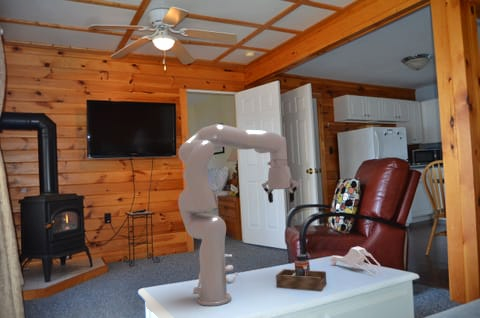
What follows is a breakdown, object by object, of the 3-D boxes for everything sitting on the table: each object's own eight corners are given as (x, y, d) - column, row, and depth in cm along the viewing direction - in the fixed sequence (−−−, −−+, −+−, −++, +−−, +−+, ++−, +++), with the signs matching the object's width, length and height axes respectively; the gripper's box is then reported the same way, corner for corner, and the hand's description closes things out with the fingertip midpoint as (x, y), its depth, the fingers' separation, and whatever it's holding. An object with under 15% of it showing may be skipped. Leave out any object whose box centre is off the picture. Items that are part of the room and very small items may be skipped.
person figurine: (213, 266, 146) (230, 249, 162) (186, 271, 151) (206, 255, 167) (223, 297, 146) (240, 277, 163) (197, 301, 151) (216, 281, 168)
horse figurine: (373, 292, 164) (333, 262, 184) (382, 260, 159) (340, 232, 179) (365, 294, 161) (326, 263, 181) (374, 262, 157) (333, 234, 177)
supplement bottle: (310, 285, 146) (309, 256, 146) (295, 285, 147) (293, 256, 147) (310, 281, 152) (308, 253, 152) (295, 281, 153) (294, 253, 153)
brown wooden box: (276, 287, 149) (275, 275, 149) (284, 281, 158) (283, 269, 158) (321, 291, 141) (320, 277, 141) (326, 283, 150) (325, 271, 150)
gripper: (258, 165, 166) (260, 203, 165) (295, 162, 159) (297, 202, 158) (264, 165, 173) (266, 202, 172) (300, 162, 165) (302, 201, 164)
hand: (281, 202), depth 165 cm, fingers open, 9 cm apart
